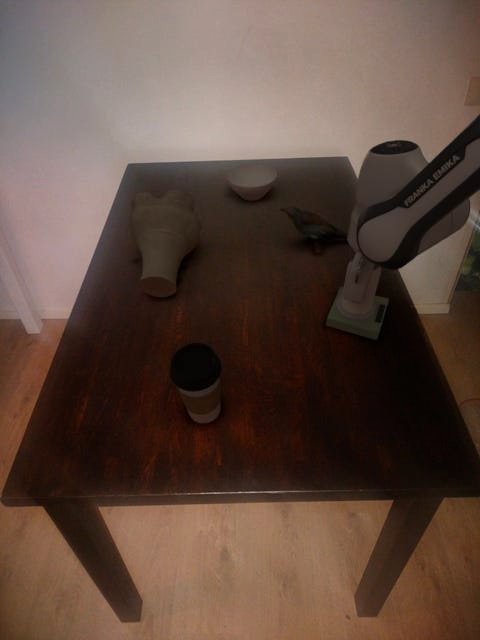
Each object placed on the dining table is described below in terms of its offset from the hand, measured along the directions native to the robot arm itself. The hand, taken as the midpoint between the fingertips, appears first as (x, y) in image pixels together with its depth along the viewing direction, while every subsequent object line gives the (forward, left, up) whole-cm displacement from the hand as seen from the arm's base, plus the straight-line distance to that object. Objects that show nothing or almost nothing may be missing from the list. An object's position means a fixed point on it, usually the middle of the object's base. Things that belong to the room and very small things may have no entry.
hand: (359, 289), depth 80 cm
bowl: (+43, -42, -8) cm, 60 cm away
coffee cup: (+19, +34, -8) cm, 40 cm away
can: (0, 0, -5) cm, 5 cm away
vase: (+48, +3, -8) cm, 49 cm away
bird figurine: (+16, -23, -8) cm, 29 cm away
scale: (-1, 0, -8) cm, 8 cm away
